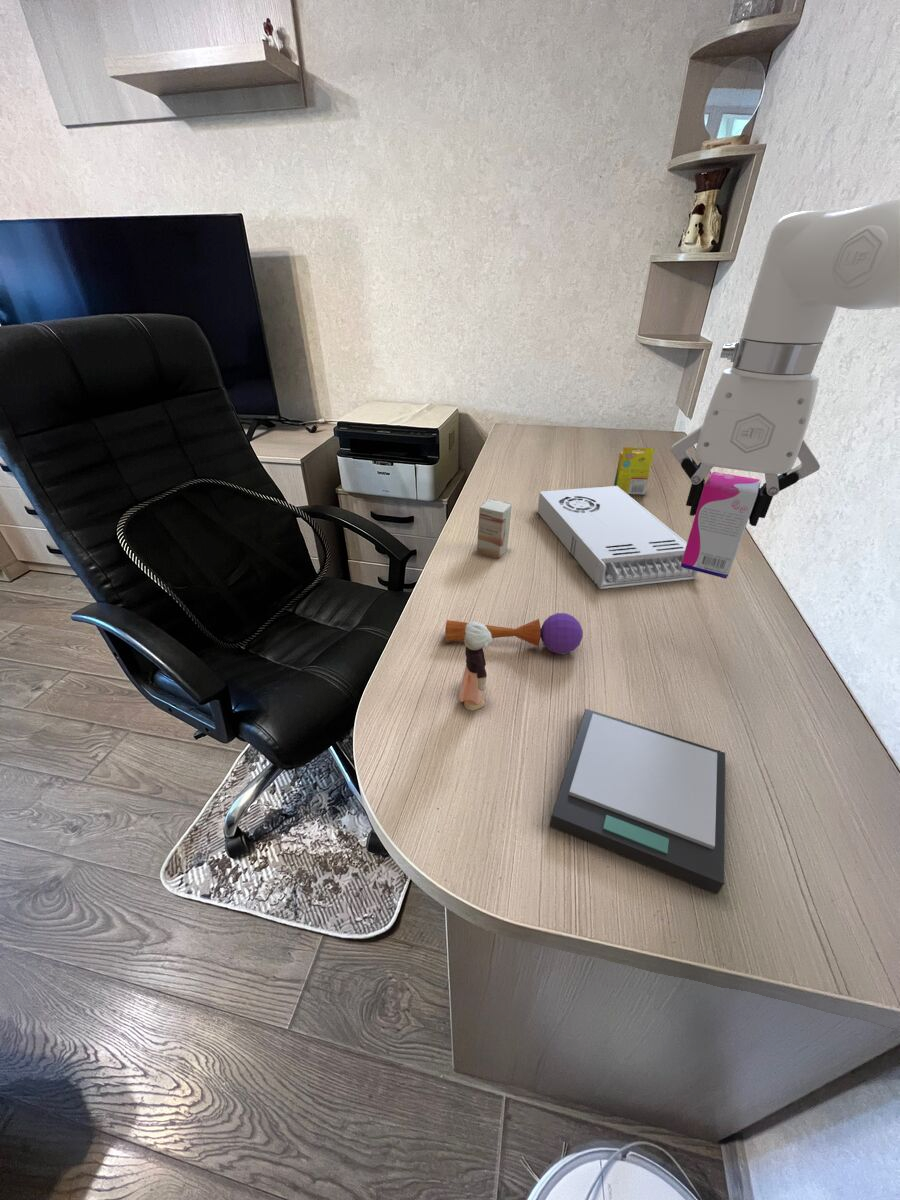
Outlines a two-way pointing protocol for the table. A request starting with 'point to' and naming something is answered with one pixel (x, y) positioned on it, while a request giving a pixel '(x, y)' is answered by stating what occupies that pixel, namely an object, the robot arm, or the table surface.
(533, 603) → the table surface
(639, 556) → the power supply unit
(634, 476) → the crayon box
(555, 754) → the table surface
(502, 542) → the medicine carton
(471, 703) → the grandmother figurine
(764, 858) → the table surface
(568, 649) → the kendama
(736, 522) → the supplement box
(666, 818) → the scale
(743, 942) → the table surface
